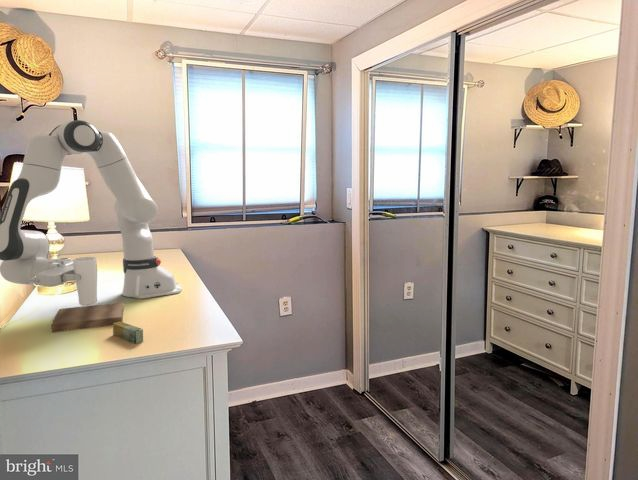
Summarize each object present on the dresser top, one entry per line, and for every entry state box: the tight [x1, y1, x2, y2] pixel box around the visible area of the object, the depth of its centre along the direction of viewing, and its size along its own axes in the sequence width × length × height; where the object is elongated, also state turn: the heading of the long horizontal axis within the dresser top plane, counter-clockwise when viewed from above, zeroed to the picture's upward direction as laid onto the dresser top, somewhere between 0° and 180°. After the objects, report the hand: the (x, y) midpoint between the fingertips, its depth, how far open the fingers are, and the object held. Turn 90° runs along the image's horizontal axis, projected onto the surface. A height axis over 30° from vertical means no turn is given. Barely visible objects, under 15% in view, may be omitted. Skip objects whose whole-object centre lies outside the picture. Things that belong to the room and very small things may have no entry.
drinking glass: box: [72, 256, 98, 306], centre depth 151 cm, size 7×7×15 cm
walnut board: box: [50, 302, 125, 333], centre depth 154 cm, size 20×16×2 cm
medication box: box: [112, 321, 144, 345], centre depth 139 cm, size 12×3×4 cm, turn 55°
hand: (87, 274), depth 151 cm, fingers closed on drinking glass, 6 cm apart
